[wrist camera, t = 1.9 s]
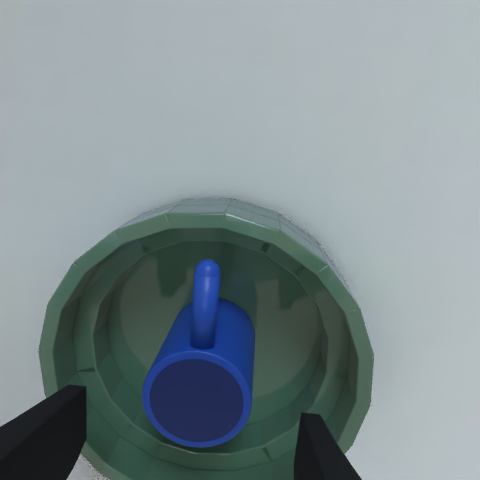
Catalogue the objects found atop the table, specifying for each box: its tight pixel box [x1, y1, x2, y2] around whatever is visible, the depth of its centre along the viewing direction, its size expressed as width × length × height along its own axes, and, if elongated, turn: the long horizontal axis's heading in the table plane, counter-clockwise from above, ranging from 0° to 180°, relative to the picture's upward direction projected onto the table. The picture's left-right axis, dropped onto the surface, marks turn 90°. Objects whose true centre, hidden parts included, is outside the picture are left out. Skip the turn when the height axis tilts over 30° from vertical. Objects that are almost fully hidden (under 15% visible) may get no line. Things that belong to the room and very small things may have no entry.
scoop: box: [142, 259, 255, 448], centre depth 17 cm, size 7×4×5 cm, turn 175°
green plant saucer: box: [39, 199, 374, 480], centre depth 18 cm, size 13×13×4 cm
